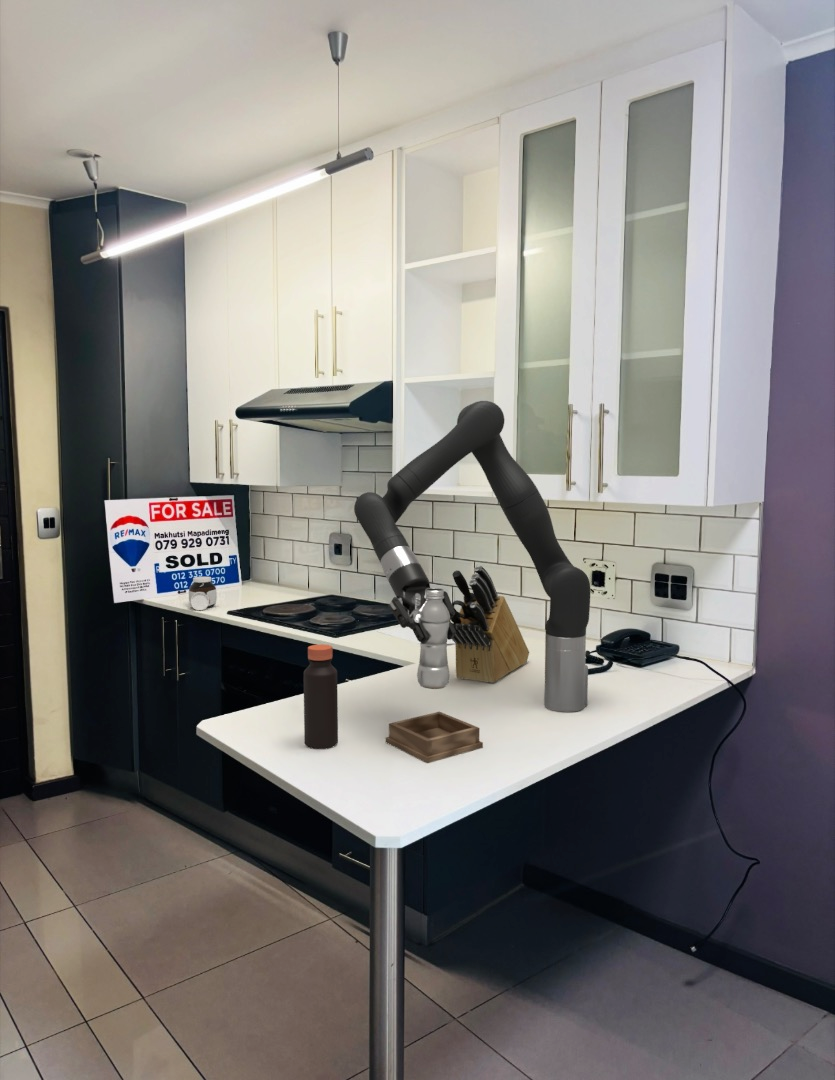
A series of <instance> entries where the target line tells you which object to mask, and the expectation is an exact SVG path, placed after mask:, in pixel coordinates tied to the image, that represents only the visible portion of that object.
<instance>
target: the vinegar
mask: <svg viewBox="0 0 835 1080" xmlns="http://www.w3.org/2000/svg"><path fill="white" fill-rule="evenodd" d="M333 654H334V653H333V646H332V645H329V644H312V645H309V646H308V647H307V659H308V662H309V665H308V666H307V667H306V668H305V669H304V671H303V721H304V723H303V725H304V727H303V728H304V729H303V731H304V732H303V733H304V737H303V738H304V739H303V741H304V745H305V747H307V748H309V749H312V748H313V749H312V750H326V748H327V749H331V748H333V746H334V747H335V746H337V744H339V743H338V742H339V721H338V720H339V716H338V715H339V713H338V711H339V709H338V708H339V707H338V702H339V701H338V700H339V699H338V698H339V697H338V670H337V668H336V667H334V666H333V665H332V661H333Z"/></svg>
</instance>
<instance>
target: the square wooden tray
mask: <svg viewBox="0 0 835 1080" xmlns="http://www.w3.org/2000/svg"><path fill="white" fill-rule="evenodd" d="M386 742H387V743H386ZM385 743H386V744H388V743H389V744H388V745H390V744H391V745H390V746H391V747H394V746H395V747H394V748H396V749H398V750H400V751H402V752H404V753H406V754H408V755H410V756H412V757H414V758H416V759H419V760H420V761H421V762H424V763H426V764H428V763H432V762H436V761H440V760H443V759H447V758H451V757H453V756H454V757H455V756H457V755H460V754H461V755H462V754H464V753H469V752H471V751H476V750H478V749H483V748H484V742H482V741H481V740H480V727H478V726H476V725H473V724H472V723H469V722H467V721H463V720H462V719H459V718H456V717H454V716H451V715H450V714H449V715H448V714H446V713H444V712H441V711H436V712H432V713H428V714H427V713H426V714H424V715H420V716H414V717H411V718H407V719H402V720H397V721H393V722H390V723H388V736H387V737H385Z"/></svg>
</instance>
